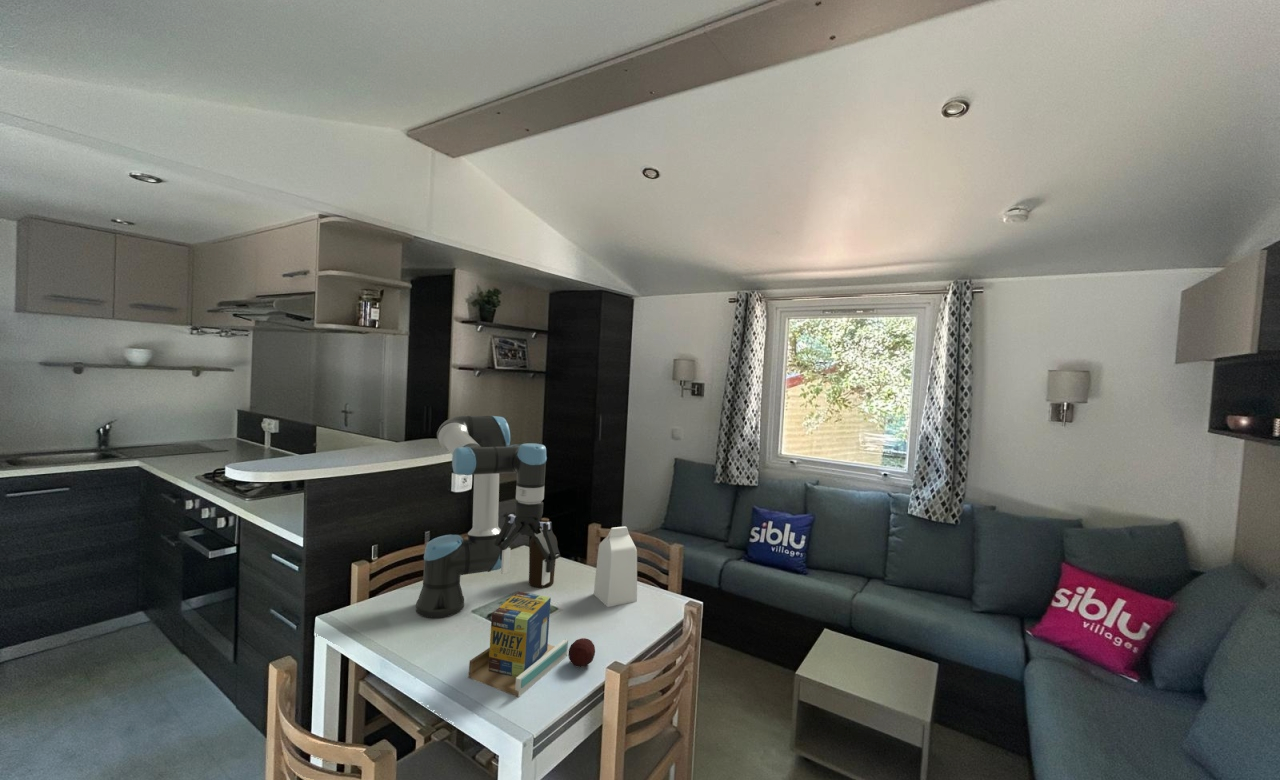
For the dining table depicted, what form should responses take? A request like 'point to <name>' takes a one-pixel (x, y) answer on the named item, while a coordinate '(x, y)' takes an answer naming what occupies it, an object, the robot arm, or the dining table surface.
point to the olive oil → (538, 564)
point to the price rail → (541, 667)
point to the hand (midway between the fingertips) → (524, 577)
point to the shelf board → (498, 677)
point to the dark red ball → (581, 652)
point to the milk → (616, 569)
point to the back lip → (479, 661)
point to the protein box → (519, 633)
